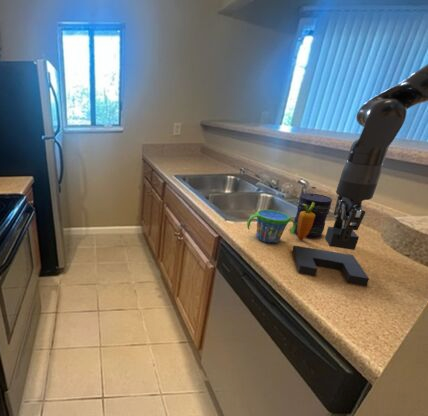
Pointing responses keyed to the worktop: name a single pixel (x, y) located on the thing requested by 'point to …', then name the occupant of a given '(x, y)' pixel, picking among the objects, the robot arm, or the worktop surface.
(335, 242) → the small block
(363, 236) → the worktop surface
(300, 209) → the dark blue oil drum
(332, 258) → the base pad
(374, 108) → the robot arm
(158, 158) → the worktop surface
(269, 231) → the snack cup
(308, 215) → the carrot
